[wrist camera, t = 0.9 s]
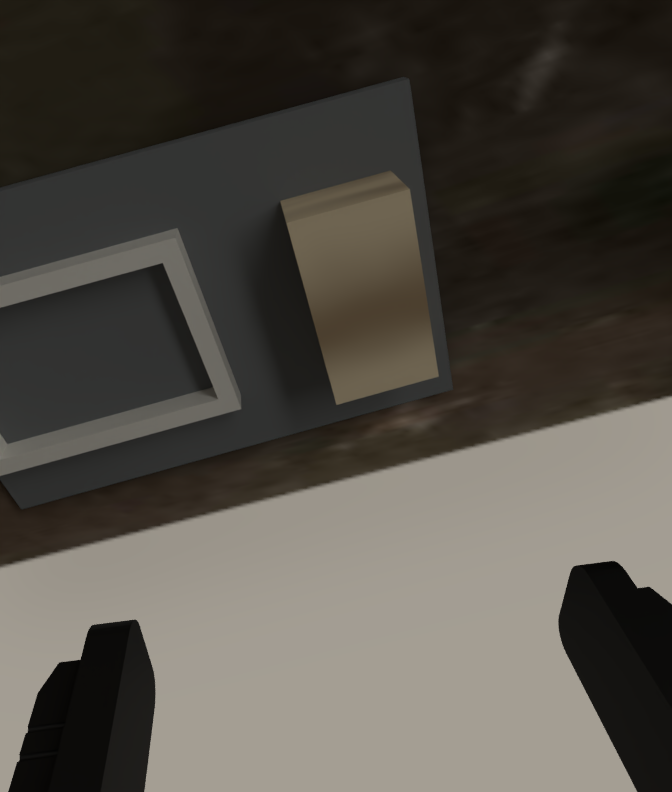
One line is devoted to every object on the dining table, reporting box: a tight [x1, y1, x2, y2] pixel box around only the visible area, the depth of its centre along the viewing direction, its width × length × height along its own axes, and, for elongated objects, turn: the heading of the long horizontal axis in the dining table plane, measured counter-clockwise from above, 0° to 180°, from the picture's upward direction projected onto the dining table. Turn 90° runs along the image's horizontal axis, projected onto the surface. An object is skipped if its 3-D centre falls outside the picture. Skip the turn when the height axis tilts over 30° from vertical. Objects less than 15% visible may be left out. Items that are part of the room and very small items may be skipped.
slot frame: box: [0, 228, 241, 476], centre depth 25 cm, size 12×8×1 cm
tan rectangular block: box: [280, 171, 439, 405], centre depth 25 cm, size 8×4×3 cm, turn 13°
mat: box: [0, 77, 453, 509], centre depth 26 cm, size 22×14×1 cm, turn 103°
